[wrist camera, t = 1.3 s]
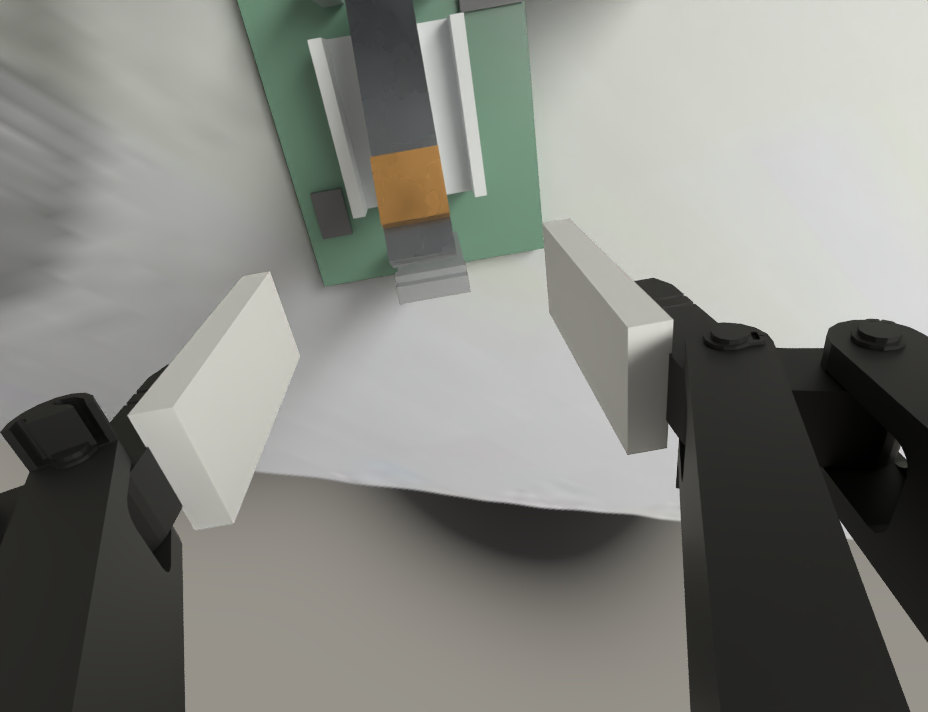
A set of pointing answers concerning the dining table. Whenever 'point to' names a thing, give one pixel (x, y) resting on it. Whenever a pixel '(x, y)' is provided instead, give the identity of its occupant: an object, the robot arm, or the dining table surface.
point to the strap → (400, 132)
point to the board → (320, 157)
